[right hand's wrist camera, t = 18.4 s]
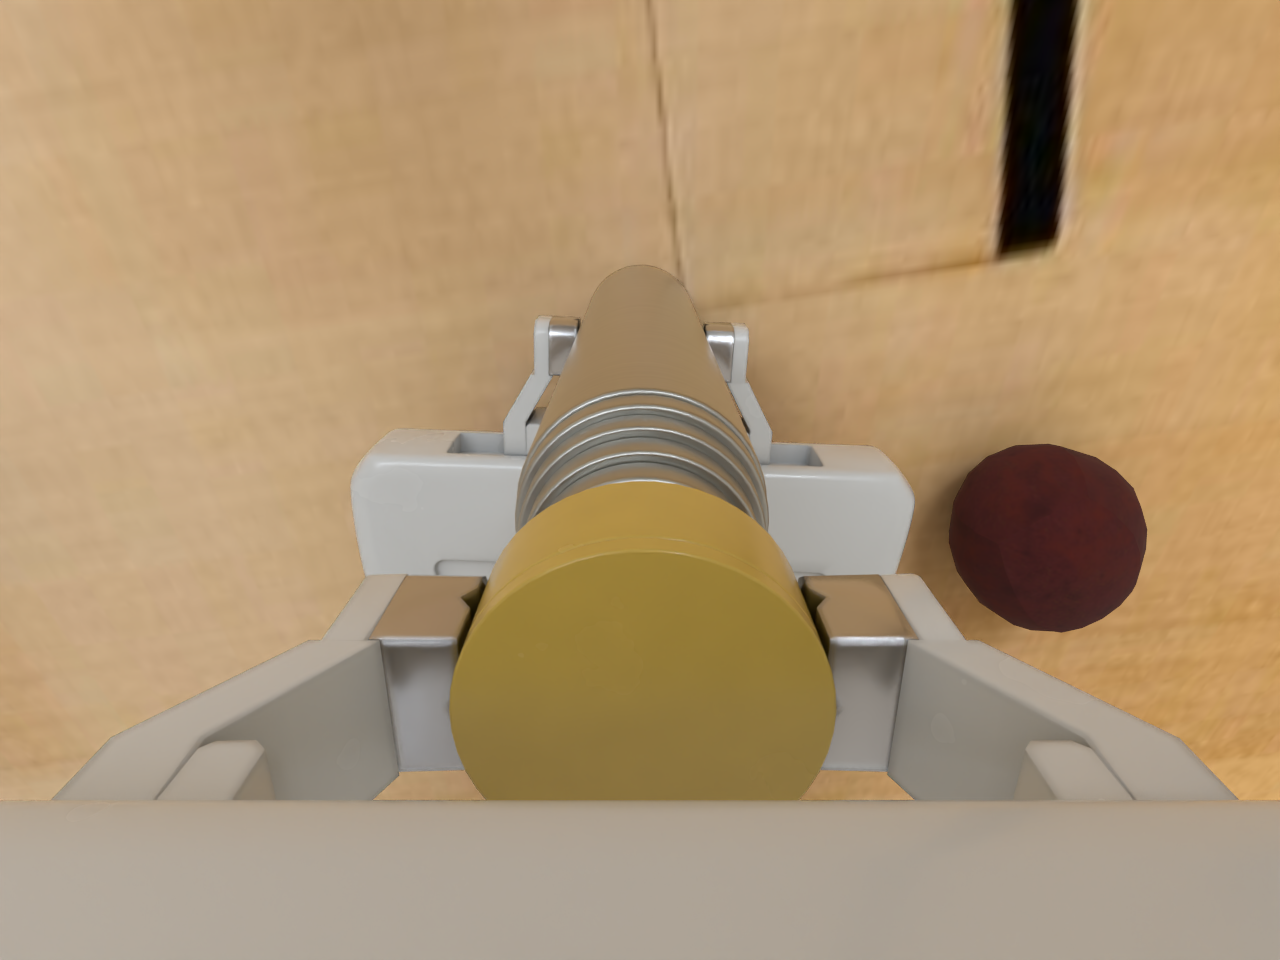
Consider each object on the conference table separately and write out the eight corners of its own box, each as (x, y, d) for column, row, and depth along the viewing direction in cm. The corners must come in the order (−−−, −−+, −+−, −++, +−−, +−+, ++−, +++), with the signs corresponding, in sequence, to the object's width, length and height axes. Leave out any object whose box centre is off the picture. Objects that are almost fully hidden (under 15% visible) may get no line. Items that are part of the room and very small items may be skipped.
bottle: (710, 345, 32) (890, 771, 9) (615, 387, 33) (555, 885, 10) (668, 246, 31) (754, 450, 7) (569, 292, 31) (370, 610, 8)
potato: (971, 602, 36) (1044, 695, 30) (892, 481, 34) (952, 553, 28) (1115, 520, 35) (1226, 598, 28) (1043, 387, 32) (1144, 439, 26)
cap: (805, 469, 9) (844, 537, 7) (800, 747, 11) (831, 858, 9) (459, 489, 9) (417, 561, 7) (504, 762, 11) (477, 874, 9)
